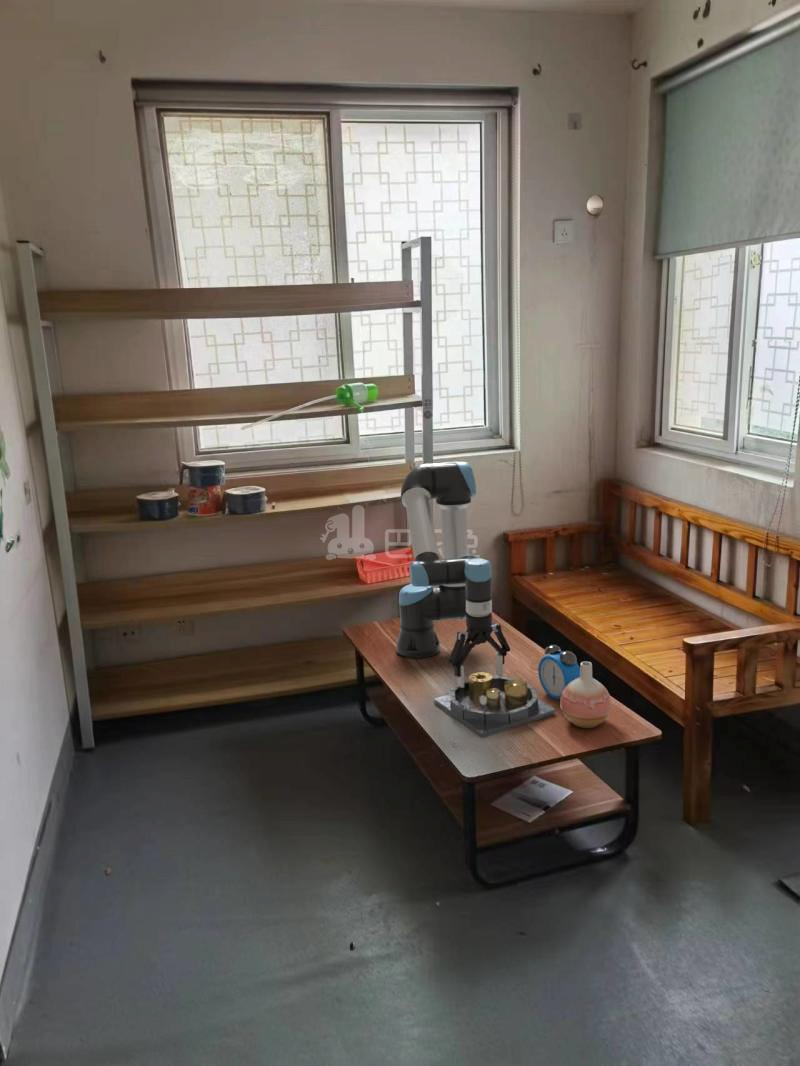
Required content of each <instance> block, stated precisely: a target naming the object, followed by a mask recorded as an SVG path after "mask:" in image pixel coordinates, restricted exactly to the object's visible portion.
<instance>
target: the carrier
mask: <svg viewBox="0 0 800 1066" xmlns="http://www.w3.org/2000/svg"><path fill="white" fill-rule="evenodd" d="M492 678H493V688H489V689H487V690H486V696H485V695H481V696H480V701H479V700H473V699H472V698H470V697H469V679H464V688H461V687H460V686H458V685H457V684H456V685H455V686H453V687H452V688H451V689H450V690H449V693H448V694H445V695H442V696H438V697H435V698H434V699H433V703H434V705H436V706H437V707H439V708H440V709H442V710H443V711H444V712H446V713H447V714H449V715H450V716H451V717H453V718H454V719H456V721H457V722H459V723H461V724H462V725H464V727H466V728H467V729H469V730H470V731H472V732H473V733H474V734H476V736H478V737H480V738H485V737H489V736H492V735H495V734H498V733H501V732H504V731H507V730H510V729H514V728H517V727H521V726H522V725H527V724H530V723H532V722H536V721H539V720H542V719H545V718H548V717H551V716H555V715H557V714H556V712H557V711H556V708H554V707H552V706H550V705H549V704H547V703H546V702H544V701H542V700H541V699H539V696H538V693H537V691H536V688H535V687H534V686H532V685H531V684H529V683H527V681H525V680H523V679H518V678H511V677H506V676H504V675H503V676H502V677H500V676H499V675H494V676H493V675H492Z"/></svg>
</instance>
